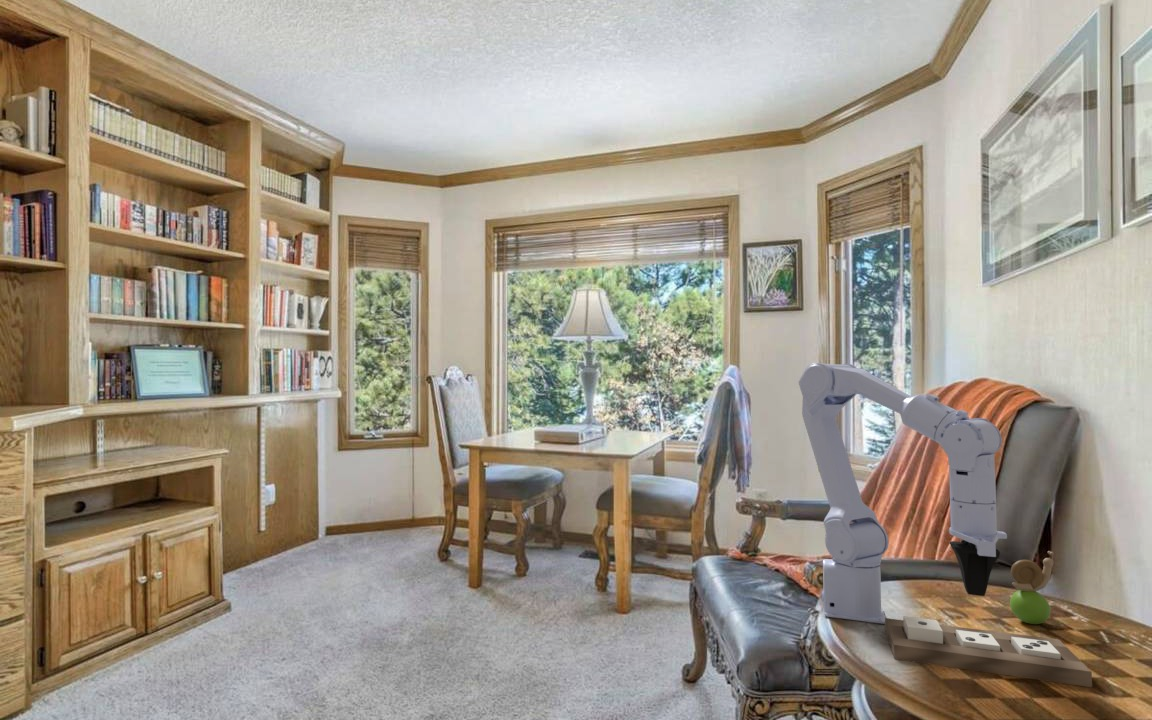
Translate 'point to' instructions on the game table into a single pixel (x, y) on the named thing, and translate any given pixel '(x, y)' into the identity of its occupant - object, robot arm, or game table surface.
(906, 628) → the tile one pip
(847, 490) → the robot arm
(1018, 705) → the game table surface
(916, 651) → the key board
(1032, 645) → the tile three pips
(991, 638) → the tile two pips
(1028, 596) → the snail figurine
